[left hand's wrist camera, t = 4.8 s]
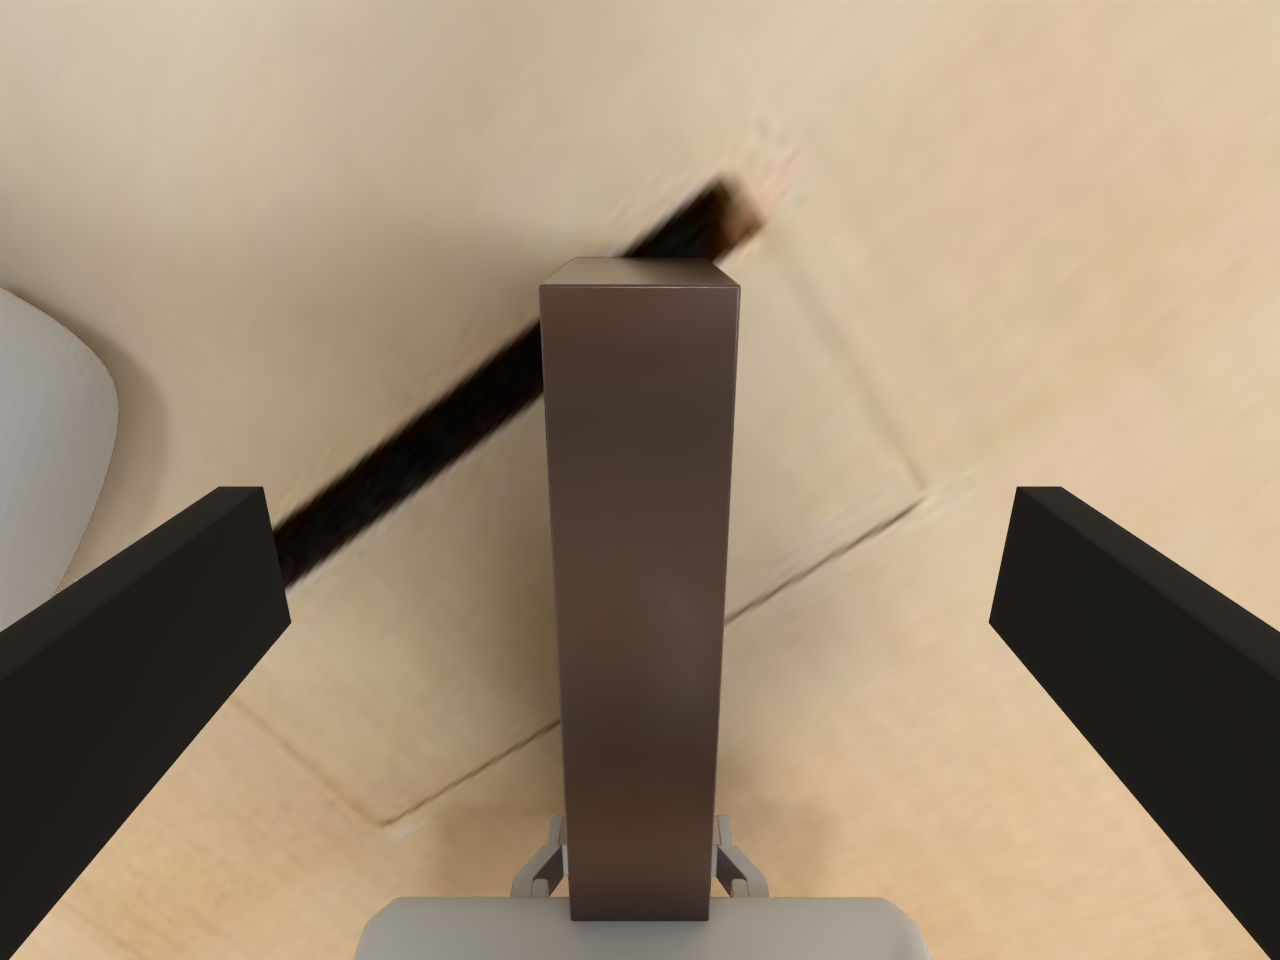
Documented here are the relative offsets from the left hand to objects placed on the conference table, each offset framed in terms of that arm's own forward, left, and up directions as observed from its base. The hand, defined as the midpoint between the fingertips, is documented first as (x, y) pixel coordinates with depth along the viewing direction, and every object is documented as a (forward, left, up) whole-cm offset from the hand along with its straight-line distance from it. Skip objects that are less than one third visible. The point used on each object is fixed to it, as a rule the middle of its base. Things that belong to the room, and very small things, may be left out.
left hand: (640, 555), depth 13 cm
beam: (+10, 0, -17) cm, 19 cm away
